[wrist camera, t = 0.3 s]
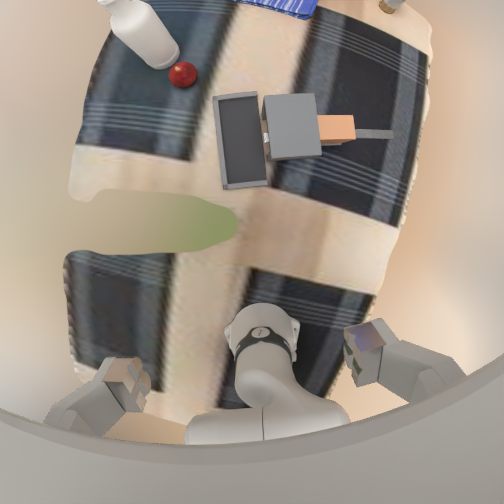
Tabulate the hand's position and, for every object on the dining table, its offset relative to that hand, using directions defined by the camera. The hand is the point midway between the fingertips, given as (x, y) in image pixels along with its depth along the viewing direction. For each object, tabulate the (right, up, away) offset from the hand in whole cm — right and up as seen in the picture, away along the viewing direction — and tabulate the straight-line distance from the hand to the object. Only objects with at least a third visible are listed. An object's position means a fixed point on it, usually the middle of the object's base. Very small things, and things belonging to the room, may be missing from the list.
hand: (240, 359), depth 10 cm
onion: (-14, +42, +40) cm, 59 cm away
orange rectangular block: (+12, +29, +44) cm, 54 cm away
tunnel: (+7, +28, +44) cm, 53 cm away
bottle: (-20, +49, +38) cm, 65 cm away
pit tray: (-2, +27, +44) cm, 52 cm away
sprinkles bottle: (+36, +68, +32) cm, 83 cm away
